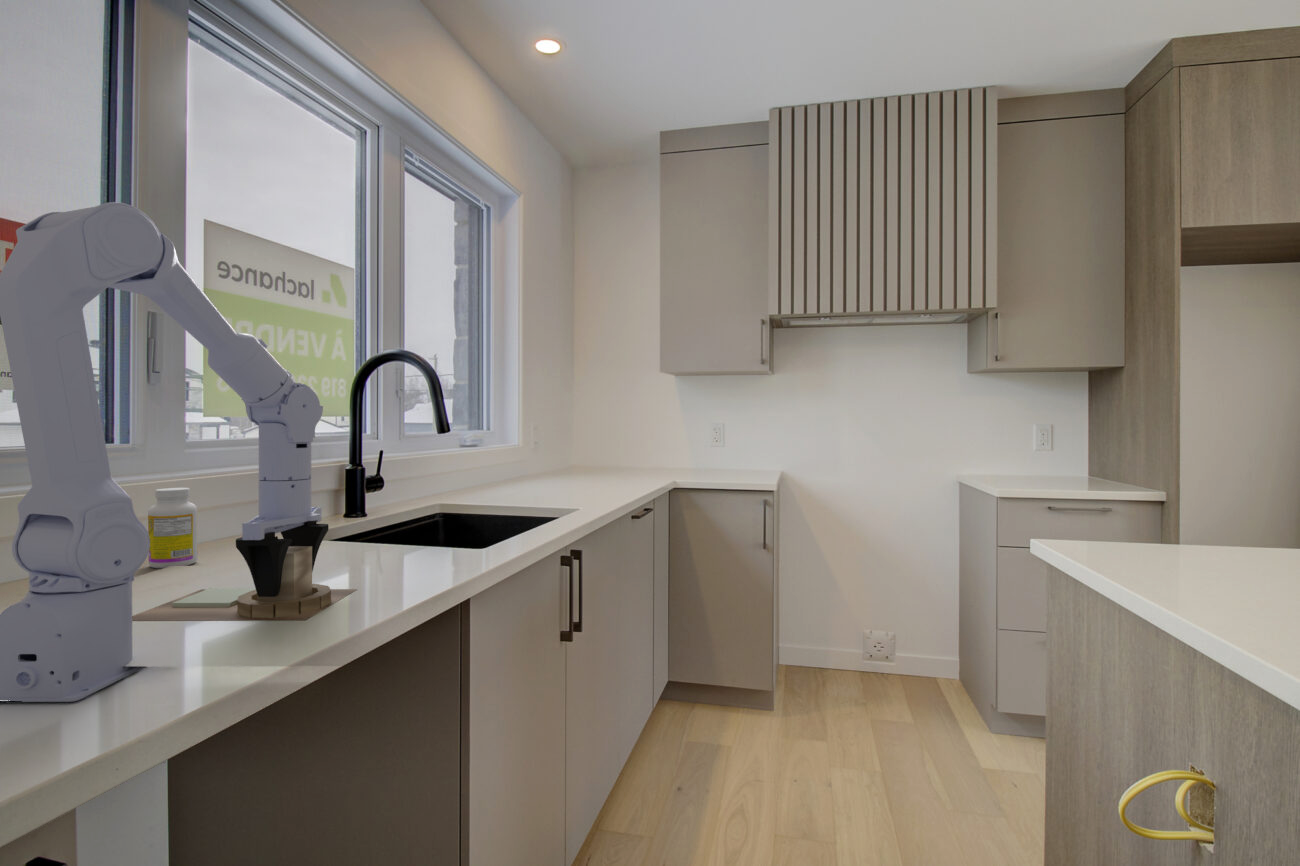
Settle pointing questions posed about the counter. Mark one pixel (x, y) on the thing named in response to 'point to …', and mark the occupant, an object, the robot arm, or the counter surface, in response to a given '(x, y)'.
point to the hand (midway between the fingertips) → (285, 588)
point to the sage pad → (213, 598)
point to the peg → (294, 575)
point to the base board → (221, 611)
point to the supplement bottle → (172, 529)
